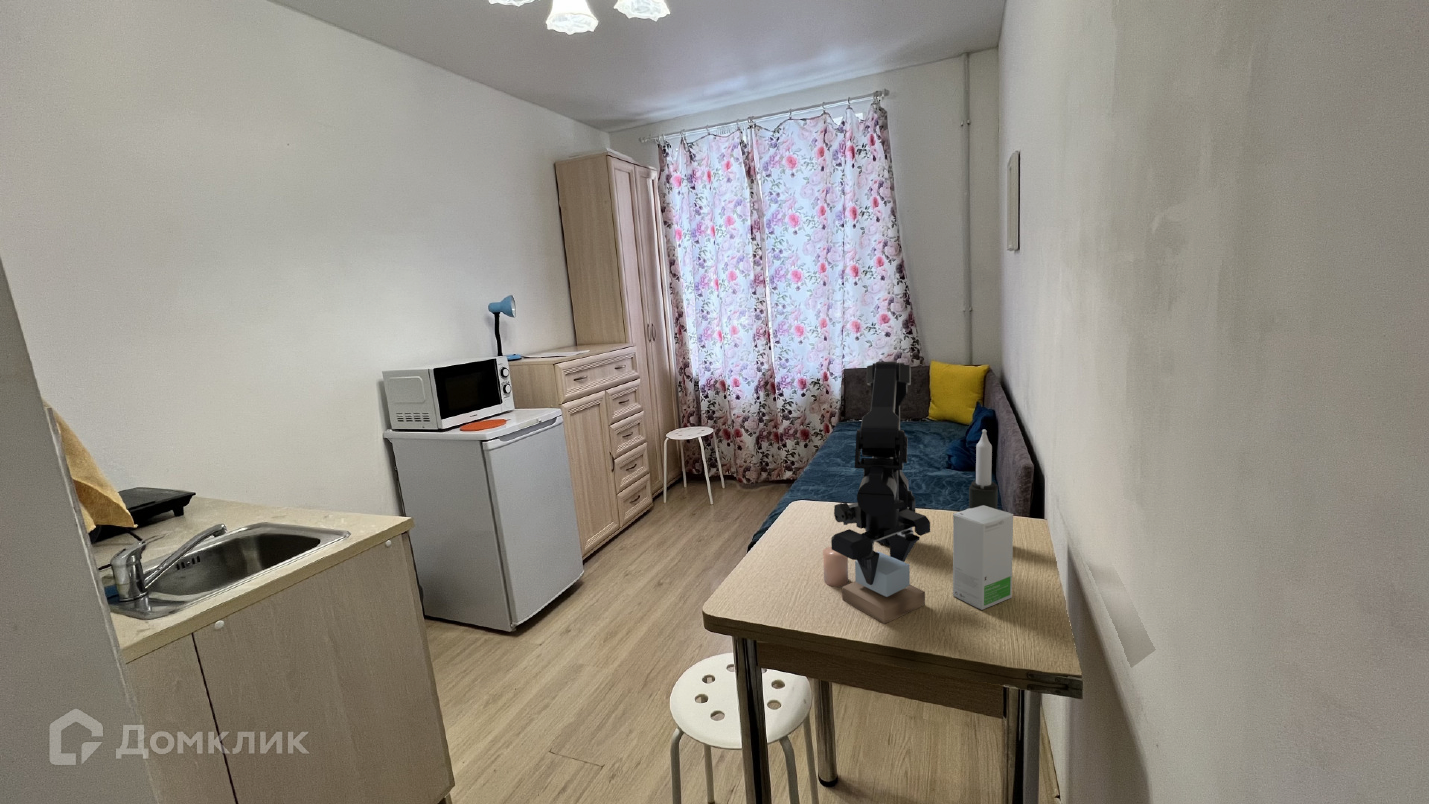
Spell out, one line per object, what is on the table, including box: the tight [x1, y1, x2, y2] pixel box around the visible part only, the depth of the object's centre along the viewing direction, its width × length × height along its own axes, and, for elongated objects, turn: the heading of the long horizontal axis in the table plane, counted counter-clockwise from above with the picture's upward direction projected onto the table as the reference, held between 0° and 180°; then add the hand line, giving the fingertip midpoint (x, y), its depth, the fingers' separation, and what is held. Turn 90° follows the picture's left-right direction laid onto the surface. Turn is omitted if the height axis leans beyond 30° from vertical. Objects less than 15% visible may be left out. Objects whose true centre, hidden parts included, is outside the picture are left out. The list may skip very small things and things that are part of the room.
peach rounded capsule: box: [822, 546, 849, 588], centre depth 113 cm, size 5×5×6 cm
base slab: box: [841, 580, 926, 625], centre depth 104 cm, size 10×10×2 cm
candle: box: [968, 429, 999, 509], centre depth 122 cm, size 5×5×25 cm
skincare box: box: [952, 505, 1014, 610], centre depth 103 cm, size 8×7×16 cm
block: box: [854, 550, 911, 597], centre depth 103 cm, size 6×7×4 cm
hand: (882, 578), depth 103 cm, fingers closed on block, 6 cm apart
